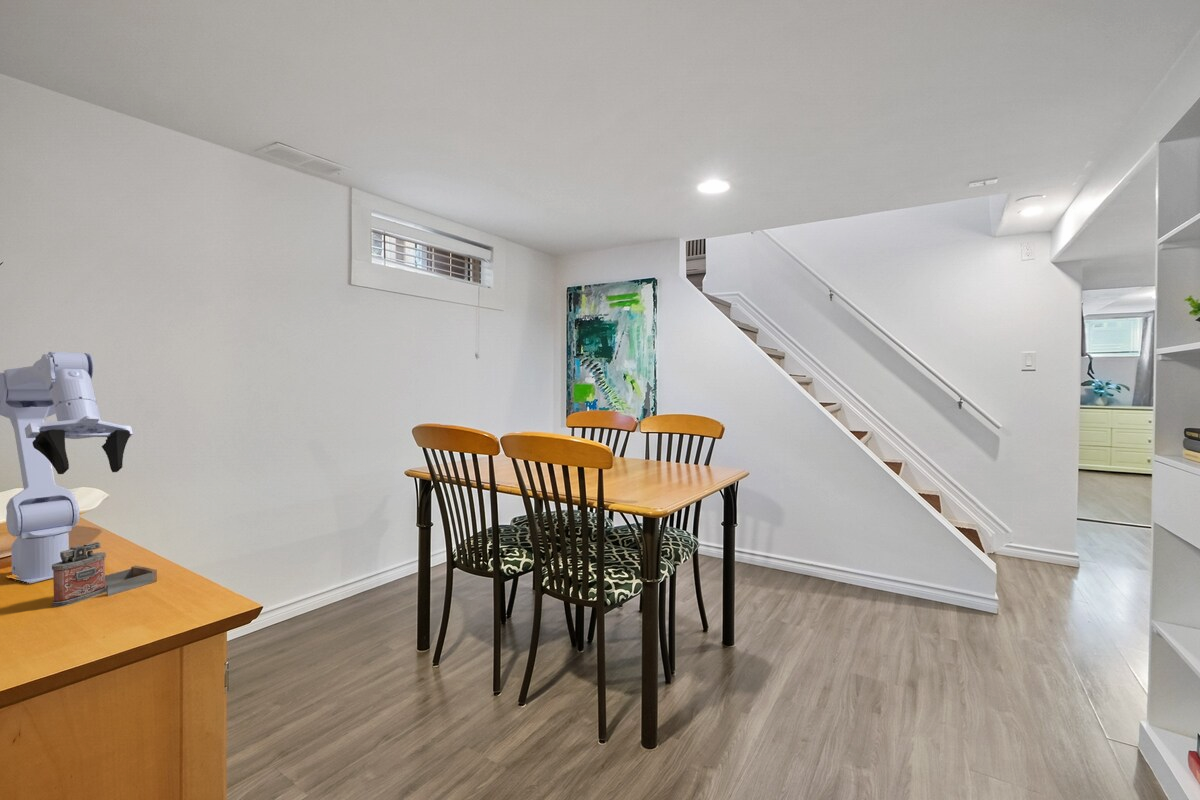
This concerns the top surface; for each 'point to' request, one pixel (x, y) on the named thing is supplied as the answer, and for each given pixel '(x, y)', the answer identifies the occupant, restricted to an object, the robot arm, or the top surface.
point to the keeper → (129, 579)
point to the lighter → (79, 575)
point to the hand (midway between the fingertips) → (91, 470)
